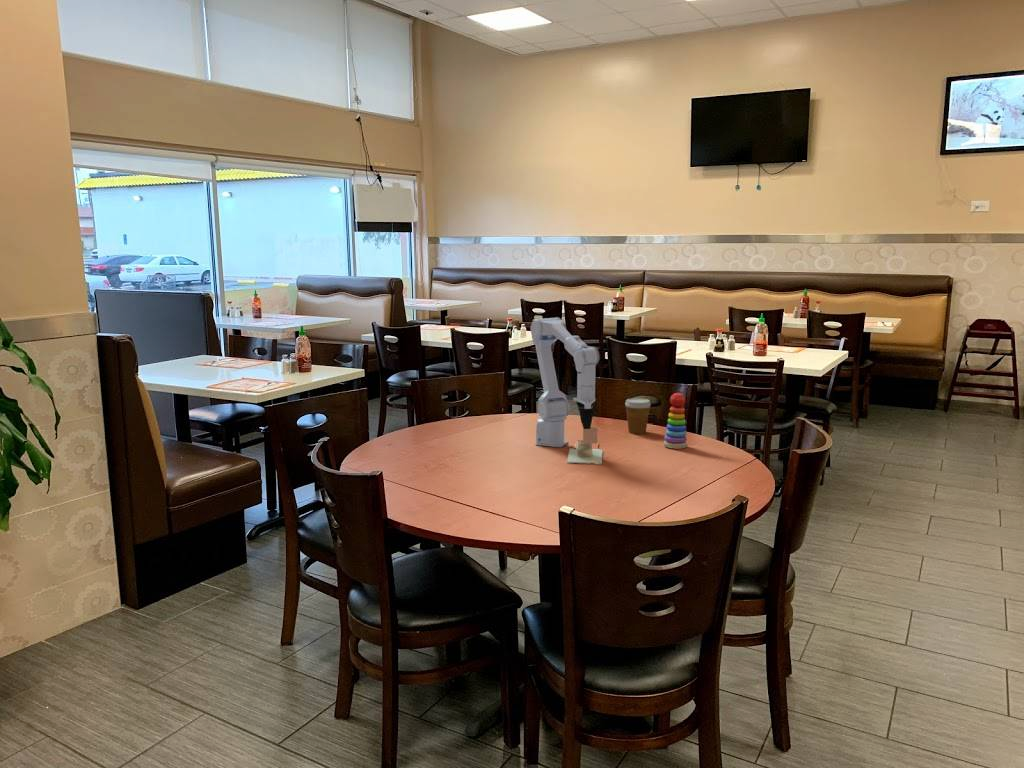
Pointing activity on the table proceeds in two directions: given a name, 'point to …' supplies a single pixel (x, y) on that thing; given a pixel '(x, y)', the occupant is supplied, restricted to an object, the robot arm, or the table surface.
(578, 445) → the beech block
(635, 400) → the disposable coffee cup
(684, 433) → the stacking toy
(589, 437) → the pinkish tan cube
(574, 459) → the plate
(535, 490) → the table surface
